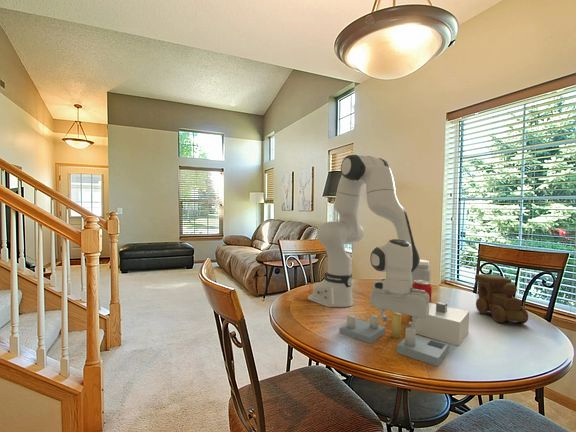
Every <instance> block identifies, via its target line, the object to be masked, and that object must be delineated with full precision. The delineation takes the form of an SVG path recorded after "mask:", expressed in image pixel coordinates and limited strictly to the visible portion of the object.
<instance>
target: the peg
mask: <svg viewBox="0 0 576 432" xmlns="http://www.w3.org/2000/svg"><path fill="white" fill-rule="evenodd" d="M401 326H402V314H401V313H397V312H392V314H391V337H393V338H395V339H399V338H401V337H402V336H401V335H402V334H401V329H402V327H401Z"/></svg>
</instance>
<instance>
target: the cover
mask: <svg viewBox="0 0 576 432" xmlns="http://www.w3.org/2000/svg"><path fill="white" fill-rule="evenodd" d="M428 304H429V316H428V317H427V318H425V319H422V318H418V319H417V320H416V322H415V323H414V329H416V335H418V336H421V337H425V338H428V339H432V340H435V341H439V342H442V343H446V344H449V345H454V346H458V347H460V346H461V344H462V343H463V341H464V340H465V338H466V337H467V335H468V334H469V330H470V329H469V328H470V326H469V325H470V311H469V310H465V309H461V308H456V307H451V306H448V302H442V301H437V302H436V303H428Z"/></svg>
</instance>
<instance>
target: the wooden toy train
mask: <svg viewBox="0 0 576 432" xmlns="http://www.w3.org/2000/svg"><path fill="white" fill-rule="evenodd" d="M474 277H475V278H474V280H475V281H476V282H477V293H478V298H477V299H476V301H475V306H476V307H475V308H476V309H477V311H478V312H479V313H480V314H482V315H486V314H487V313H488V312H490V313H491V315H492V318H493V320H494V321H495V322H496V323H497V324H498V323H499V324H503V323H505V322H506V321H507V322H517V323H519V324H521V323H522V324H525V323H527V322H528V320H529V314H528V310H527V309H526V308H525V307H524V306H522V300H521V299H519V298H517V297H515V296H514V295H515V294H516V292H517V290H518V289H517V287H516V285H515V284H513V283H512V279H510V278H508V277H504V276H501V275H498V274H497V275H496V274H489V273H488V274H487V273H485V274H484V273H481V274H475V275H474Z"/></svg>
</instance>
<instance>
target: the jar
mask: <svg viewBox="0 0 576 432" xmlns="http://www.w3.org/2000/svg"><path fill="white" fill-rule="evenodd" d="M411 275H412V284H413V282H414V280H424V281H428V282H430V283H431V275H432V274H431V269H430V261H429V260H426V259H421V258H420V262H419V265H418V267H417V268H416V269H415V270H414V271H413V272H411Z"/></svg>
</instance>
